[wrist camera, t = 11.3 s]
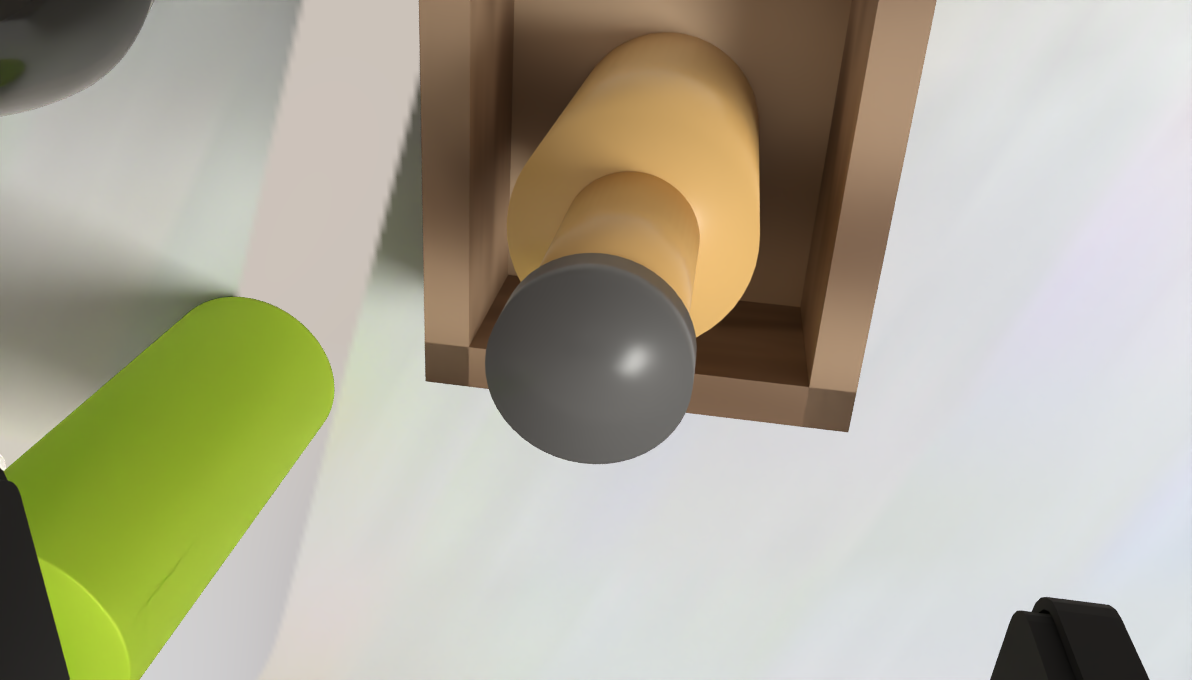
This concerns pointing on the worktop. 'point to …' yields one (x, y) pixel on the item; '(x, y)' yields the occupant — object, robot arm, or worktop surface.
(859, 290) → the open wooden box
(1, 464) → the container
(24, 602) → the robot arm
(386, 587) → the worktop surface
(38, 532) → the soap dispenser
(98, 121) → the worktop surface
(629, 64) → the amber bottle
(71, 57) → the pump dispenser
